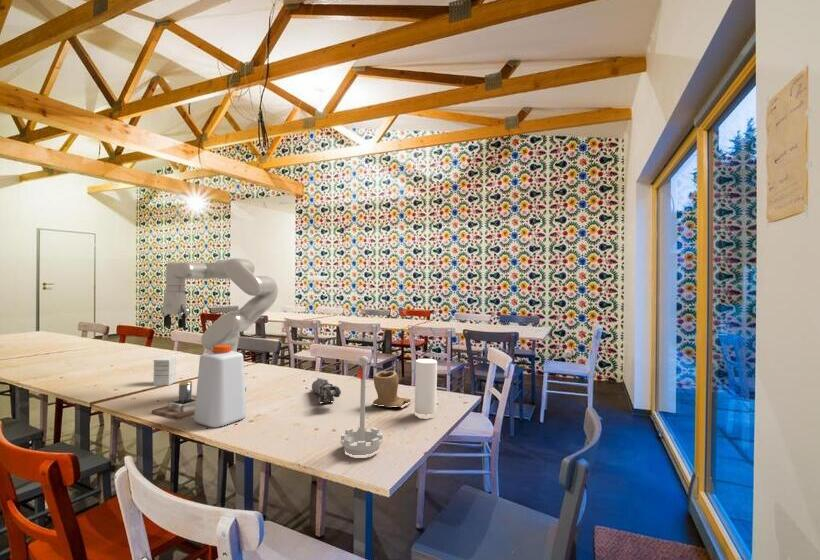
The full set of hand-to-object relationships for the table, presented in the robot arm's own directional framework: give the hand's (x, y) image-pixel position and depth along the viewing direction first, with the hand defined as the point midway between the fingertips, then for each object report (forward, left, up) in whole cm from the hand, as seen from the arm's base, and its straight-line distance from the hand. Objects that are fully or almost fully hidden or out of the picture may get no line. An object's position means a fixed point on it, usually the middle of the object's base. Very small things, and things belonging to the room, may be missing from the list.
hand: (174, 326), depth 183 cm
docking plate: (-9, +28, -30) cm, 42 cm away
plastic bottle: (-23, +44, -31) cm, 58 cm away
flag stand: (-67, +86, -31) cm, 113 cm away
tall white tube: (-100, +62, -31) cm, 121 cm away
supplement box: (+7, -19, -31) cm, 37 cm away
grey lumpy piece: (-64, +30, -31) cm, 77 cm away
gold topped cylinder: (-9, +28, -29) cm, 41 cm away
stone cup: (-89, +47, -31) cm, 105 cm away
